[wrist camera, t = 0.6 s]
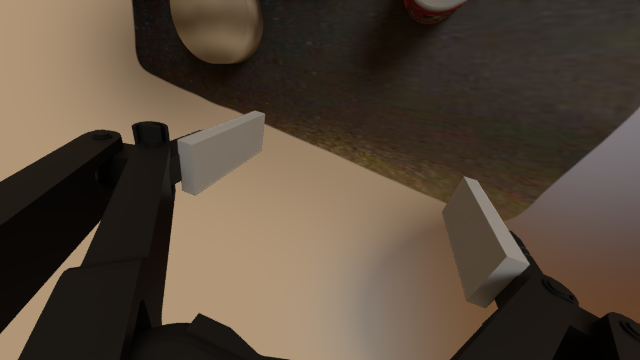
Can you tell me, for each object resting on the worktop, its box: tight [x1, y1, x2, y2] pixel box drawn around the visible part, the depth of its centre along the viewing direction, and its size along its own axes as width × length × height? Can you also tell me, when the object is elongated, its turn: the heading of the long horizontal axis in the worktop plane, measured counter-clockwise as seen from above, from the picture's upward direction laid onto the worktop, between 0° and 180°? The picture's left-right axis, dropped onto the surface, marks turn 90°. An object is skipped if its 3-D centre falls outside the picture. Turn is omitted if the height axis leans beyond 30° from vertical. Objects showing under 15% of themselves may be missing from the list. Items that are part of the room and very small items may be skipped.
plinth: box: [170, 0, 263, 64], centre depth 37 cm, size 13×13×5 cm
